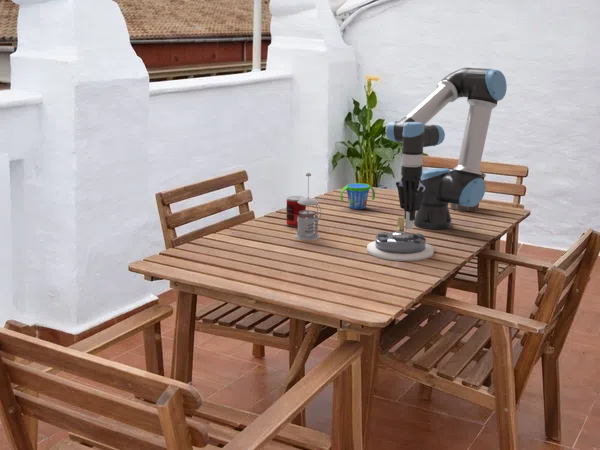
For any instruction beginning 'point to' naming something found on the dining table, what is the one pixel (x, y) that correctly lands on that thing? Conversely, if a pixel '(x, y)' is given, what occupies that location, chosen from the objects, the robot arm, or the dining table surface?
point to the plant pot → (465, 208)
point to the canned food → (294, 210)
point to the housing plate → (400, 257)
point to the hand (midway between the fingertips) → (409, 228)
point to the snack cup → (357, 195)
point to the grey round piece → (400, 240)
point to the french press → (309, 232)
